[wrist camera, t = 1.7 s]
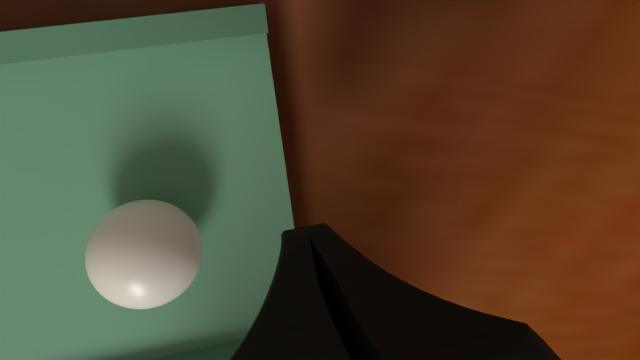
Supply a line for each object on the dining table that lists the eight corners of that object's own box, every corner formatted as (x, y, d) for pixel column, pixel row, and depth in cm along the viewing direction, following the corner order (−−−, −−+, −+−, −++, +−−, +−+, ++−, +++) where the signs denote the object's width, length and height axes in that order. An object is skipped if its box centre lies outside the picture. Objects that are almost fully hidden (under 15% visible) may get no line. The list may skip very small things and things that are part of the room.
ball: (214, 256, 16) (210, 319, 13) (120, 274, 15) (91, 345, 12) (193, 174, 14) (183, 223, 11) (89, 192, 14) (47, 247, 11)
